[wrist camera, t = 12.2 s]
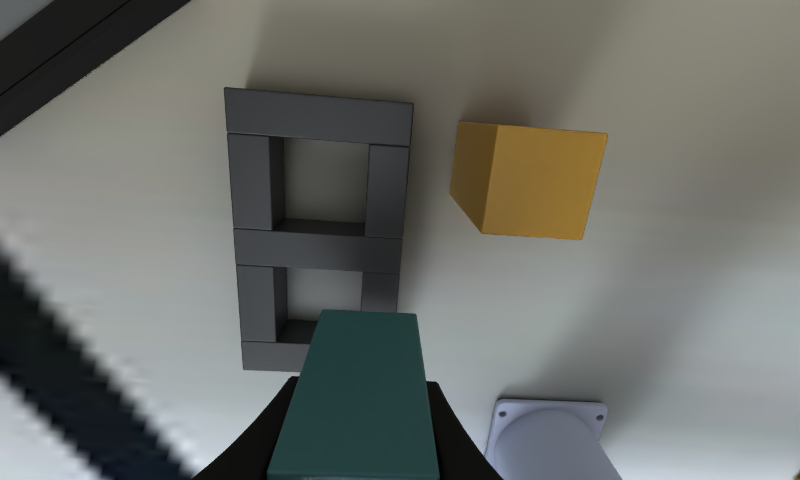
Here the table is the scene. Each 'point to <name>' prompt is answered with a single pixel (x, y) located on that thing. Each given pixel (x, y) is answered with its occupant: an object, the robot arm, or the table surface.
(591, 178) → the ochre peg
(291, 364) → the holder
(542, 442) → the robot arm
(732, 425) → the table surface
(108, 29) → the vhs tape
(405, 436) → the teal peg
